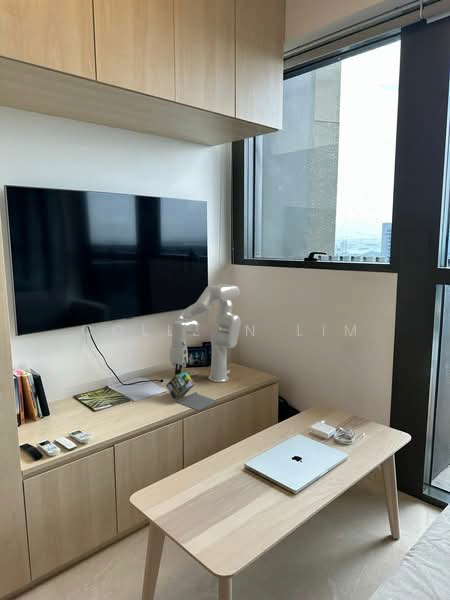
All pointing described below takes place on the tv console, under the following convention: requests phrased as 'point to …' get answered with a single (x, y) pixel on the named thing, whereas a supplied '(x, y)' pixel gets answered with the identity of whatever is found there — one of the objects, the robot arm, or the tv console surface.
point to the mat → (196, 401)
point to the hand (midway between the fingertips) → (178, 375)
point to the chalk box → (180, 385)
